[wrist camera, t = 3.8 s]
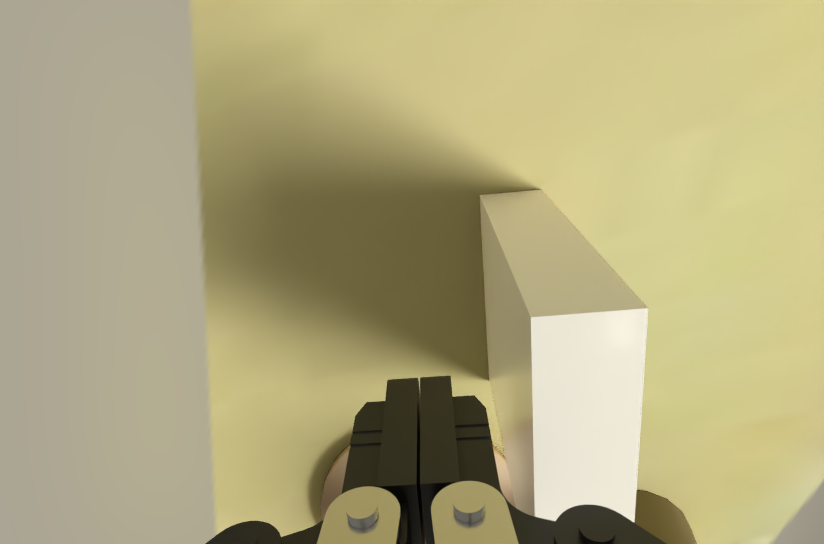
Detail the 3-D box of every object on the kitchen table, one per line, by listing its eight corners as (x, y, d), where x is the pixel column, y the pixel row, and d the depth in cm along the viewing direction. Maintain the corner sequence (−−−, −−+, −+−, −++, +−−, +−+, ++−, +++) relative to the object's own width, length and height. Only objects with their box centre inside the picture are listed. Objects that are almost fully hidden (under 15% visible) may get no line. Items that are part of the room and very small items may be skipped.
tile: (479, 194, 18) (530, 317, 10) (546, 188, 18) (657, 307, 10) (489, 380, 21) (536, 605, 12) (547, 376, 20) (636, 600, 12)
